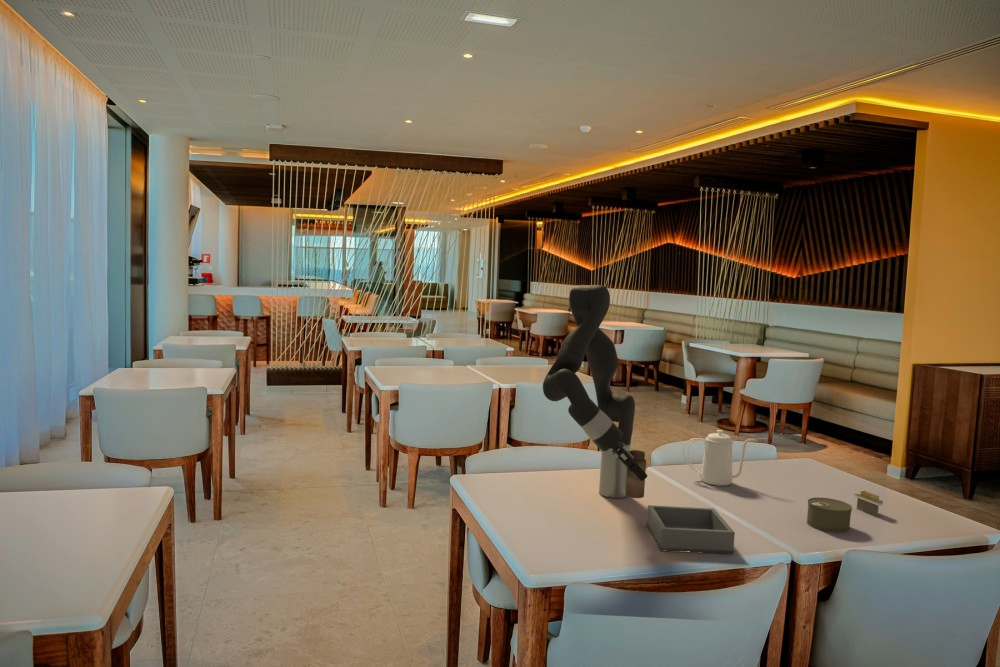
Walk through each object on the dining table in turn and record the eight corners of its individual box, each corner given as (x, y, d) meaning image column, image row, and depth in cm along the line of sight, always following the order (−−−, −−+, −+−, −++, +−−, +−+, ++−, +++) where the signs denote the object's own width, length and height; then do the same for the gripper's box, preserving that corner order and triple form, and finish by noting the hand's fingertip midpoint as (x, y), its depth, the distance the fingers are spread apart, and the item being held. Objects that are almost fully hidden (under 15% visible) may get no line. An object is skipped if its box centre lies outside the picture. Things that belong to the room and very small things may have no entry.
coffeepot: (754, 491, 247) (759, 437, 245) (680, 481, 255) (683, 429, 253) (754, 483, 257) (758, 431, 256) (682, 473, 265) (686, 423, 264)
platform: (859, 503, 240) (861, 484, 240) (907, 522, 223) (909, 501, 223) (832, 506, 236) (834, 486, 235) (878, 525, 219) (880, 504, 219)
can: (859, 533, 210) (861, 510, 210) (821, 533, 208) (823, 510, 208) (833, 519, 222) (835, 497, 221) (797, 519, 220) (799, 497, 219)
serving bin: (646, 525, 208) (647, 505, 208) (712, 528, 208) (714, 508, 207) (660, 551, 189) (662, 528, 189) (733, 554, 189) (734, 532, 188)
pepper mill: (624, 491, 199) (626, 449, 197) (642, 492, 198) (645, 450, 197) (626, 497, 194) (629, 454, 192) (645, 498, 193) (648, 454, 192)
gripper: (615, 426, 187) (658, 474, 188) (608, 415, 201) (648, 459, 202) (593, 445, 188) (637, 492, 189) (588, 432, 202) (628, 476, 203)
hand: (642, 475), depth 195 cm, fingers closed on pepper mill, 5 cm apart
